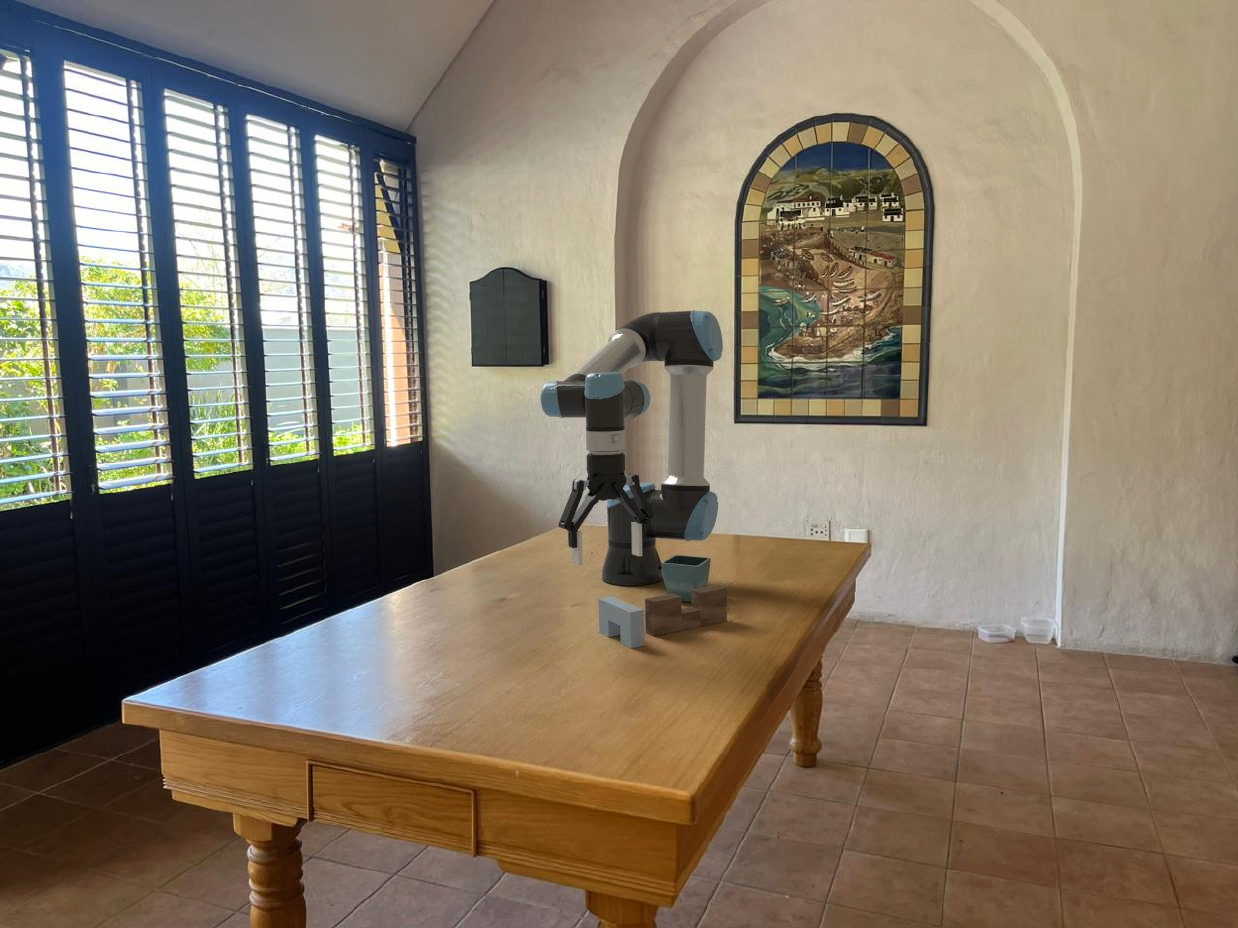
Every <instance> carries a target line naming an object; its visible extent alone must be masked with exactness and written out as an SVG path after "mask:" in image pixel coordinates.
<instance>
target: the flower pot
mask: <svg viewBox="0 0 1238 928" xmlns="http://www.w3.org/2000/svg"><path fill="white" fill-rule="evenodd" d="M711 560H712V558H711V557H704V556H693V555H683V554H682V555H681V554H675V555H673V556H671V557H669V558H668V559H666V560H664V561H661V563H662V571H663V583H664V587H665V590H666V592H667V594H672V593H674V594H676V595H679V596H681V600H682V602H687V603H688V602H689V603H692V590H693V589H698V588H704V587H707V585H708V581H709V577H710V568H711Z"/></svg>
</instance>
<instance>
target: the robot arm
mask: <svg viewBox="0 0 1238 928" xmlns="http://www.w3.org/2000/svg"><path fill="white" fill-rule="evenodd" d="M723 342H724V341H723V335H722V330H721V327H720V323H719V321H718V319H717V317H716V316H715V315H714V314H713V312H710V311H707V310H706V311H705V310H684V311H681V310H680V311H666V312H664V311H663V312H660V311H655V312H650V313H645V314H642V315H640V316H637V317H636V318H633V319H631V320H629V321H628V322H626V323H624V324H623V325H621V326H620V327H618V328H617V329H616V330H615V331H614V332H612V333H611V335H610V337H609V338H608V341H607V343H606V344H605V345H604V346H603V347H601V349H599V350H598V351H597V352H596V353H595V354H594V355H592V356H591V357H590V358H589V359H587V360H586V361H585V362H584V363H583V364H582V365H581V366H580V367H578V368H577V369H576V370H575V371H573V372H572V374H570V375H569V376H568V377H567V378H565V379H564V380H560V381H559V380H554V381H548V382H546V383H545V384H544V385H543V386H542V389H541V392H540V398H539V399H540V404H541V409H542V411H543V413H544V414H545V415H546V416H548V417H552V418H561V419H563V418H564V419H565V418H570V419H572V418H573V419H574V418H579V419H582V418H585V435H586V436H585V450H586V451H587V452H588V453H587V454H586V472H587V478H586V479H578V478H574V479H573V480H572V484H571V485H572V487H571V492H570V494H569V496H568V499H567V502H566V504H565V507H564V509H563V512H562V514H561V517H560V520H559V521H558V524H557V525H558V527H559V528H561V529H563V530H565V531H567V537H568V540H567V541H568V542H567V543H568V547H569V548H571V554H572V555H571V557H572V558H571V559H572V564H575V565H576V566H583V565H584V564H583V563H584V562H583V532H582V531H581V530H579V529H580V528H581V526H582V524H583V523H584V522H585V521H586V518H587V517H588V515H589V514H590V512H591V511H592V509H593V508H594V507H595V505H596V504H598V503H599V502H600V501H603V502H604V501H605V502H606V501H607V502H606V504H607V505H606V510H607V541H608V542H607V543H608V546H607V552H606V555H605V557H604V558H605V559H604V561H603V565H602V569H601V579H602V581H603V582H605V583H608V584H611V585H617V586H643V585H644V586H645V585H651V584H655V583H658V582H661V581H662V580H664V578H663V571H662V561H661V559H660V558H661V557H660V555H659V551H658V549H657V544H656V542H657V539H662V540H663V539H664V540H675V541H676V540H678V541H685V542H691V541H697V542H699V541H705V540H707V539H708V538H709V536H711V534H712V532H713V530H714V528H715V525H716V522H717V517H718V513H719V502H718V496H717V494H716V493H715V492H713V491H711V483H710V482H708V480H707V479H706V478H705V454H706V453H705V451H706V450H705V449H706V447H705V443H706V419H707V418H706V416H707V415H706V413H707V410H706V409H707V379H708V375H709V374H710V373H711V372H712V371H713V370H714V362H718V361H719V360H720V359H721V358H722V355H723V354H722V353H723V350H724V348H723V346H724V345H723V344H724V343H723ZM646 362H664V367H663V368H664V369H665V370H666V372H668V373H669V375H670V381H669V383H670V385H669V386H670V387H669V412H668V413H669V415H668V416H669V417H668V418H669V419H668V422H669V423H668V448H667V449H668V452H667V453H668V454H667V457H668V458H667V476H666V477H665V478H664V479H663V480H662V481H661V482H660V489H656V485H655V483H654V482H640V476H639V475H638V474H635V473H628V474H627V475H625V470H626V454H625V453H624V452H623V451H624V450H625V449H626V446H625V445H626V444H625V442H626V441H625V440H626V439H625V438H626V437H625V419H630V418H631V419H635V418H636V417H638V416H641V415H643V414H645V412H646V411H647V410H648V408H649V406H650V403H651V394H650V391H649V389H648V387H647V386H646V385H645V384H644V383H642V382H640V381H637V380H633V379H631V380H629V379H627V380H626V379H625V380H624V375H623V374H625V373H626V372H627V371H628V370H629V369H630V368H635V367H637V366H639V365H640V364H641V363H646ZM586 489H588V492H587V493H586V495H585V496H584V499H583V501H582V503H581V504H580V502H581V500H582V498H583V495H584V491H585V490H586ZM579 505H580V506H579Z"/></svg>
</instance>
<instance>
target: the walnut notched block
mask: <svg viewBox="0 0 1238 928" xmlns="http://www.w3.org/2000/svg"><path fill="white" fill-rule="evenodd" d="M727 591H728V589H727V587H726V586H723V585H720V584H715V585H710V586H706V587H704V588H698V589H693V590H692V602H691V606H687V607H686V606H685V607H683V608H682V606H683V605H682V602H683V601H682V600H681V596H679V595H676V594H674V593H672V594H668V593H667V594H663V595H656V596H651V597H645V598H644V611H645V612H644V616H645V619H644V625H645V634H647V635H650V636H652V637H657V636H663V635H669V634H672V633H677V632H681V631H687V630H691V629H696V628H700V627H704V626H705V627H706V626H709V625H714V624H719V623H724V622H727V621H728V595H727V594H728V592H727Z"/></svg>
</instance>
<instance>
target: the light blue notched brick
mask: <svg viewBox="0 0 1238 928" xmlns="http://www.w3.org/2000/svg"><path fill="white" fill-rule="evenodd" d="M597 602H598V633H600V634H602V635H603V636H605V637H607V638H611V637H617V636H620V644H622V645H623V646H625V647H627V648H629V649H635V648H639V647H643V646H645V619H644V616H645V612H644V611H645V609H643V608H640V607H638V606H636V605H633V604H631V603H628V602H626V601H624V600H621V599H619V598H617V597H615V596H612V595H610V596H605V597H600V598H598V601H597Z"/></svg>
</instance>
